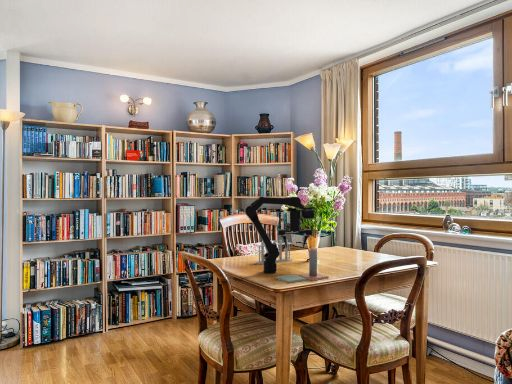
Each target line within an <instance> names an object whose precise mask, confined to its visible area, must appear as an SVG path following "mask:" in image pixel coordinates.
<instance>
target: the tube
mask: <svg viewBox="0 0 512 384" xmlns="http://www.w3.org/2000/svg"><path fill="white" fill-rule="evenodd" d="M308 250H309V251H308V254H309V255H308V261H309V262H308V267H309V268H308V271H309V272H308V273H309V276H317V273H318V250H317V249H316V248H315V247H311V248H310V249H308Z"/></svg>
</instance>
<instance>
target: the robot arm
mask: <svg viewBox="0 0 512 384" xmlns="http://www.w3.org/2000/svg"><path fill="white" fill-rule="evenodd" d="M264 204H267V205H284V206H288V208H287V209H286V210H285V211H286V212H289V222H286V223H285V229H284V228H278V230H277V235H278V236H280V237H281V238H282V240H283V243H285V245H284V247H285V246H286V248H287V241H286V240H287V235H288V234H289V235H298V234H300V235H301V234H302V235H303V240H302V248H305V245H306V243H307V240H308V238H309V237H311V236H312V235H313V230H312V228H304V229H303V230H301V218H302V220H314V219H315V212H314V207H313V206H306V207H305V205H303V203H302V200H301V198H300V197H298V196H288V197H273V196H272V197H271V196H262V195H261V196H258V197H257V198H256V199H255V200H254V201H252V202H251V203H250V204H248V205H246V206H245V207H244V209H243V212H244V215H245V216H247V218H248V219H249V221H251V223H252V225H253V226H254V228H255V230H256V232H257V233H258V235H259V237H260V239H261V240H262V241H263V243H264V245H265V246H264V250H265V251H266V253H264V256H263V258H264V264H263V271H262V272H263V274H276V273H277V262H275V261H276V260H277V259H278V258H279V247H278V245H276V243H277V242H276V243H274V242H273V241H271V239H270V237H269V235H268V234H267V231H266V230H265V228H264V226H263V225H262V223H261V220H260V219H259V215H258V212H257V211H258V210H259V209H260V208H261V207H262V206H263V205H264ZM262 241H261V242H262Z"/></svg>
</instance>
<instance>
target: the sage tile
mask: <svg viewBox="0 0 512 384" xmlns="http://www.w3.org/2000/svg"><path fill="white" fill-rule="evenodd" d="M275 280H279V281H280V282H281V281H282V282H283V283H287V284H292V283H298V282H305V281H307V279H306V278H303V277H300V276H298V275H296V274H285V275H279V276H275Z"/></svg>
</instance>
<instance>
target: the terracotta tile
mask: <svg viewBox="0 0 512 384" xmlns="http://www.w3.org/2000/svg"><path fill="white" fill-rule="evenodd" d="M297 276H300V277H303V278H306V280H308V281H312V282H313V281H318V280H324V279H329V277H330V276H329V275H327V274H323V273H319V272H317V276H309V272H306V273H300V274H298V275H297Z"/></svg>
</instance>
